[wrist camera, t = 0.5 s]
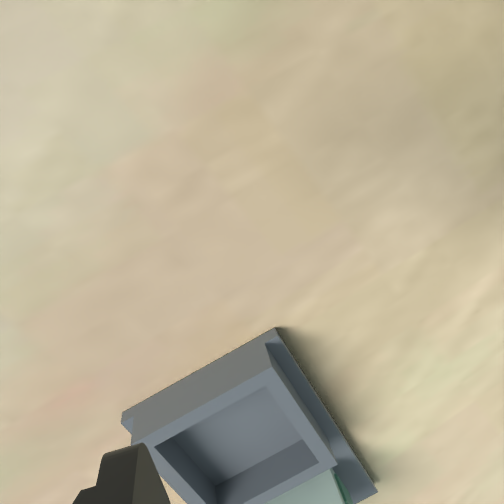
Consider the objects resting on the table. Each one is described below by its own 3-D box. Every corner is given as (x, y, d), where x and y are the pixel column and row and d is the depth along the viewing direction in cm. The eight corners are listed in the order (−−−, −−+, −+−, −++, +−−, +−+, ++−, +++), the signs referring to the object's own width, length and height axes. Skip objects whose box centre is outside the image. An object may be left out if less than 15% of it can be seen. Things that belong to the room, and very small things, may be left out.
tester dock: (122, 412, 32) (114, 472, 27) (274, 327, 31) (292, 374, 27) (247, 548, 39) (257, 612, 35) (373, 481, 39) (400, 538, 34)
